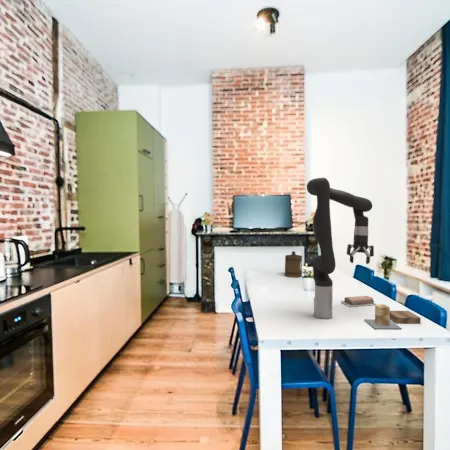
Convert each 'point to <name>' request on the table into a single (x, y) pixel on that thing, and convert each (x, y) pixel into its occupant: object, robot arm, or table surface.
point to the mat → (376, 326)
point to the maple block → (382, 314)
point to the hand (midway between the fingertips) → (359, 263)
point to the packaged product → (358, 301)
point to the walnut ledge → (404, 317)
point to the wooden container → (293, 265)
